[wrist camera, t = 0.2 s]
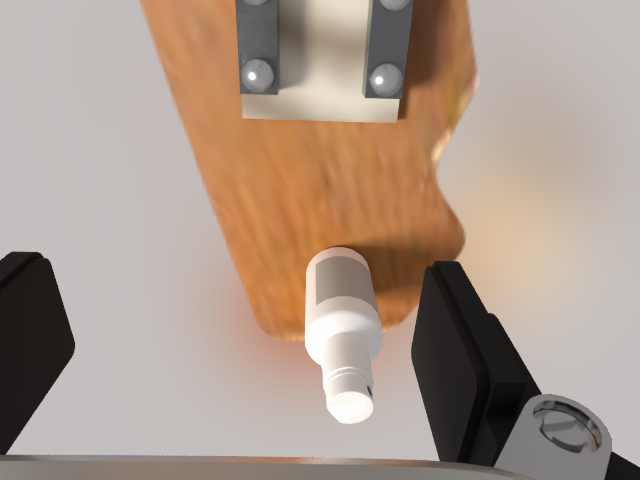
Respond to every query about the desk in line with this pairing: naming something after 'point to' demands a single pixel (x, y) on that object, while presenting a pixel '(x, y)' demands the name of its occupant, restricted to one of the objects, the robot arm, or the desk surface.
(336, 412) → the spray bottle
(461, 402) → the robot arm
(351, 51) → the jig board
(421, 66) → the desk surface
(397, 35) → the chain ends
